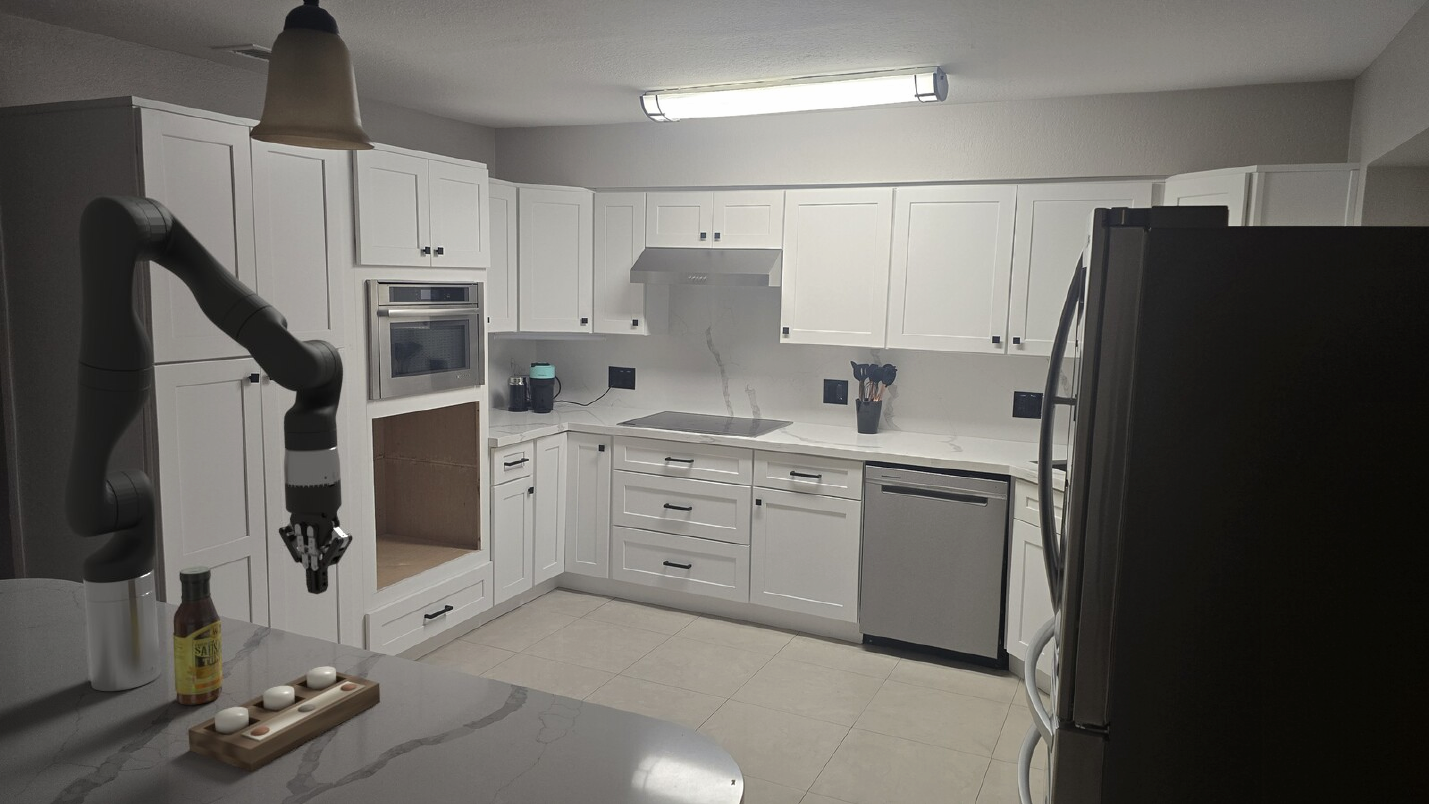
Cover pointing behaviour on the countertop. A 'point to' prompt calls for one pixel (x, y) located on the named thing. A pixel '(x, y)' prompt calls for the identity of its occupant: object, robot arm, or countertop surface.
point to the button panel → (285, 722)
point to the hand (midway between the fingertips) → (317, 591)
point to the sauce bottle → (197, 640)
